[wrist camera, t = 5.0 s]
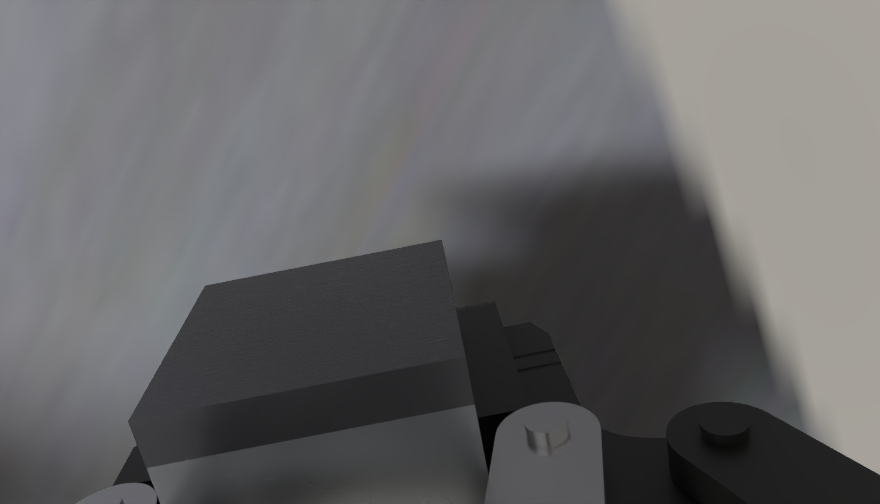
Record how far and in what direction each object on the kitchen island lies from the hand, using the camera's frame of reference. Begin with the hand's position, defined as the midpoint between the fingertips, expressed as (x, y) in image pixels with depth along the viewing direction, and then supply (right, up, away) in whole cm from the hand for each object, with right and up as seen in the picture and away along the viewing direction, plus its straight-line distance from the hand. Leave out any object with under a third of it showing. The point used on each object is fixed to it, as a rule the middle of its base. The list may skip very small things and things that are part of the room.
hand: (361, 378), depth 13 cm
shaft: (+1, -6, +1) cm, 6 cm away
